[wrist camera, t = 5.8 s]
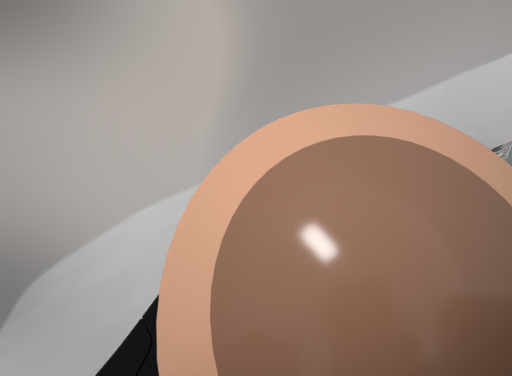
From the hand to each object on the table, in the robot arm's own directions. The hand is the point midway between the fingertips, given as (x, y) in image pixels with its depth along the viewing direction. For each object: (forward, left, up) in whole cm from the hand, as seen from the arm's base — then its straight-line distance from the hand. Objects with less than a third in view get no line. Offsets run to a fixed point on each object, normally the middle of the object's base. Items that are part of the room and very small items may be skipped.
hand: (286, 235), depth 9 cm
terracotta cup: (-1, 0, -7) cm, 7 cm away
